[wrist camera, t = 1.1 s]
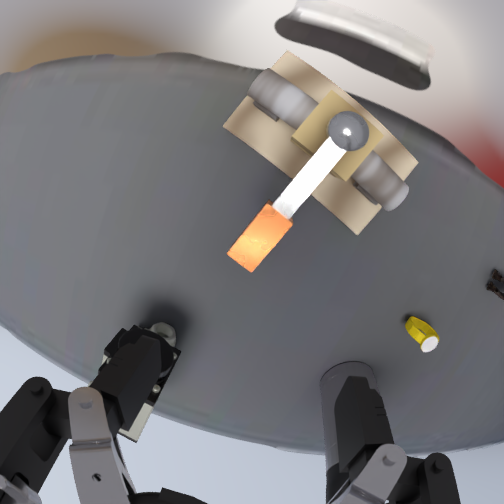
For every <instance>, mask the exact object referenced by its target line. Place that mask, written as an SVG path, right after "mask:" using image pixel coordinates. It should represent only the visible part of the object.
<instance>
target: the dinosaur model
mask: <svg viewBox="0 0 504 504" xmlns="http://www.w3.org/2000/svg"><path fill="white" fill-rule="evenodd" d="M492 274H493V275H492V278H493V279H495V280H498V281H500V282H503V283H504V277H502V275H501V274H500V273H499V272H498V271H497V270H496V269H495V270H494V272H493V273H492ZM487 290H491V291H492V292H494V293H495V294H496V295H498V296H499V297H500V298H501V299H503V300H504V293H502V292H500V291H499V290H498V289H497V288H496V287H495V286H494V284H493V282H490V283H489V284H488V286H487Z"/></svg>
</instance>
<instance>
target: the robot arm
mask: <svg viewBox="0 0 504 504" xmlns="http://www.w3.org/2000/svg"><path fill="white" fill-rule="evenodd" d="M160 373H161V350H160V341H159V340H157V339H154V338H151V337H147V336H144V335H142V336H141V337H140V338H139V339H138V340H137V342H136V343H135V344H131V343H128V344H126V345H124V346H123V347H121V348H119V350H118V351H117V352H116V353H115V354H114V356H113V358H111V359H110V361H109V362H108V364H106V366H105V367H104V368H103V369H102V371H101V372H100V373H99V374H98V376H97V377H96V378H95V379H94V381H93V382H92V383H91V384H90V386H89V387H80V388H77V389H75V390H74V391H73V392H66V391H61V390H57V389H53V388H52V386H51V384H50V382H49V381H48V380H47V379H45V378H43V377H32V378H30V379H28V380H27V381H26V382H25V383H24V384H23V385H22V386H21V388H20V389H19V390H18V391H17V392H16V394H15V395H14V396H13V397H12V399H11V400H10V401H9V402H8V403H7V405H6V406H5V407H4V408H3V410H2V411H1V412H0V504H42V502H41V499H40V497H39V495H38V493H39V491H40V489H41V487H42V485H43V483H44V481H45V479H46V478H47V476H48V474H49V472H50V470H51V468H52V467H53V464H54V463H55V461H56V459H57V457H58V456H59V453H60V452H61V451H62V449H63V447H64V445H65V444H66V442H67V440H68V439H72V442H73V443H72V445H70V446H69V452H70V458H71V464H72V469H73V474H74V479H75V483H76V487H77V492H78V496H79V499H80V503H81V504H207V503H205V502H203V501H201V500H199V499H197V498H195V497H192V496H189V495H186V494H182V493H179V492H175V491H172V490H169V489H166V488H162V490H161V492H160V493H159V492H143V493H136V490H135V487H134V485H133V483H132V480H131V478H130V476H129V474H128V471H127V468H126V465H125V462H124V459H123V455H122V452H121V449H120V445H119V442H118V438H117V433H118V431H119V430H120V428H121V429H123V430H125V431H128V432H129V430H130V428H131V427H132V425H133V423H134V421H135V419H136V418H137V416H138V414H139V412H140V410H141V409H142V407H143V405H144V403H145V401H146V400H147V398H148V396H149V394H150V392H151V391H152V389H153V387H154V385H155V384H156V382H157V380H158V378H159V376H160ZM320 389H321V400H322V412H323V425H324V440H325V456H326V477H327V485H326V504H384V503H385V501H386V500H389V503H386V504H461V503H460V498H459V493H458V489H457V484H456V480H455V476H454V472H453V468H452V464H451V461H450V459H449V458H448V457H447V456H446V455H444V454H442V453H432V454H430V455H429V456H428V457H427V458H426V459H420V458H414V457H409V456H406V453H405V452H404V450H403V449H402V448H401V447H399V446H397V445H395V444H394V441H393V437H392V433H391V429H390V425H389V421H388V418H387V416H386V411H385V409H384V404H383V400H382V397H381V396H380V392H379V389H378V386H377V382H376V380H375V377H374V374H373V371H372V369H371V368H370V367H369V366H368V365H366V364H364V363H361V362H347V363H343V364H339V365H337V366H335V367H333V368H332V369H330V370H329V371H328V372H327V373H325V375H324V376H323V377H322V379H321V383H320Z"/></svg>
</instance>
